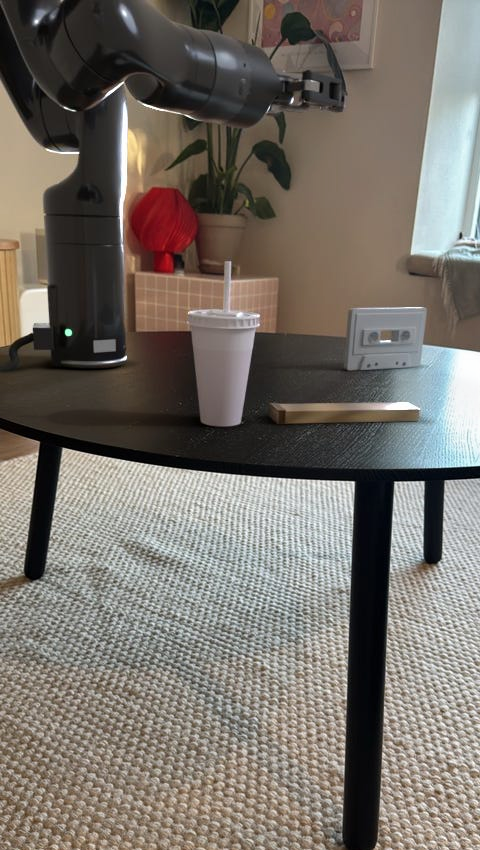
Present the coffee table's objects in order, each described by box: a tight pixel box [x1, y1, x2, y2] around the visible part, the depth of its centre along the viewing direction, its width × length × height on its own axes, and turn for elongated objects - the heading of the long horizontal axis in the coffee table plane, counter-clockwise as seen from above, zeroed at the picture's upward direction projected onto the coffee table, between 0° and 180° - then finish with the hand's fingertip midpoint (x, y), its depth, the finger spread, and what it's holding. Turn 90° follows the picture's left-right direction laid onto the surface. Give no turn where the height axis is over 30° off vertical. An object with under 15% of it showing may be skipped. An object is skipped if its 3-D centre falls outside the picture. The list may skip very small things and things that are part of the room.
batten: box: [269, 401, 421, 425], centre depth 72 cm, size 14×3×1 cm, turn 102°
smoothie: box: [186, 260, 260, 427], centre depth 67 cm, size 6×6×14 cm
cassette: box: [343, 306, 428, 371], centre depth 98 cm, size 12×2×8 cm, turn 116°
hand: (308, 104), depth 85 cm, fingers open, 8 cm apart
